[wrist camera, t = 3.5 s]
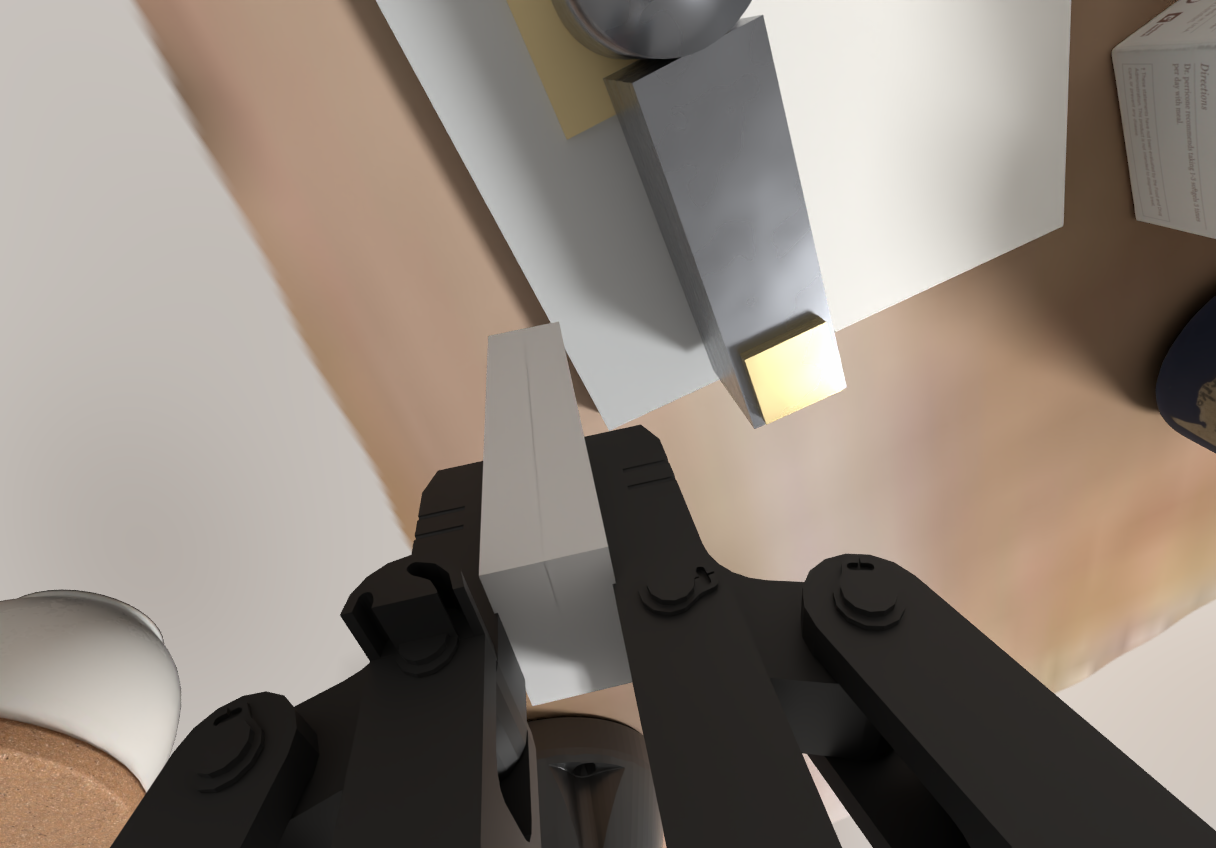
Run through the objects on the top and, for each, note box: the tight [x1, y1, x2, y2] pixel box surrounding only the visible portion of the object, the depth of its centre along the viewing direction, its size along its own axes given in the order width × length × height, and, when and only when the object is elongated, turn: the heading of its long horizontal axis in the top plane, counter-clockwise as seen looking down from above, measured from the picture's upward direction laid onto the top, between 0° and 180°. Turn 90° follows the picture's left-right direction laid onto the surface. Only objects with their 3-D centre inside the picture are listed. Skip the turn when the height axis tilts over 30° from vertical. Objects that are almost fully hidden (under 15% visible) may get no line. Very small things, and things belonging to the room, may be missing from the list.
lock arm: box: [551, 0, 846, 429], centre depth 15 cm, size 14×4×5 cm, turn 23°
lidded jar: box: [0, 590, 181, 848], centre depth 21 cm, size 11×11×9 cm
